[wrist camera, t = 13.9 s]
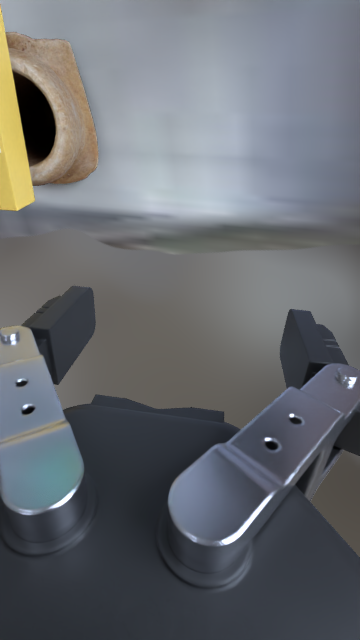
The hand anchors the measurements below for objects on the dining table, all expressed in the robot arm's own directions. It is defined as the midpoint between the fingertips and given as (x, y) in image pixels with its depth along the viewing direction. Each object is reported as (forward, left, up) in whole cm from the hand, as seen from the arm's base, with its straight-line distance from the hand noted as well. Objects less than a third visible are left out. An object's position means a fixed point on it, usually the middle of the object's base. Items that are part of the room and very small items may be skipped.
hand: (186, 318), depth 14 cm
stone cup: (-8, -19, -32) cm, 38 cm away
